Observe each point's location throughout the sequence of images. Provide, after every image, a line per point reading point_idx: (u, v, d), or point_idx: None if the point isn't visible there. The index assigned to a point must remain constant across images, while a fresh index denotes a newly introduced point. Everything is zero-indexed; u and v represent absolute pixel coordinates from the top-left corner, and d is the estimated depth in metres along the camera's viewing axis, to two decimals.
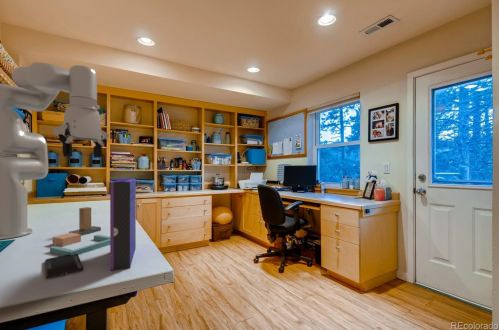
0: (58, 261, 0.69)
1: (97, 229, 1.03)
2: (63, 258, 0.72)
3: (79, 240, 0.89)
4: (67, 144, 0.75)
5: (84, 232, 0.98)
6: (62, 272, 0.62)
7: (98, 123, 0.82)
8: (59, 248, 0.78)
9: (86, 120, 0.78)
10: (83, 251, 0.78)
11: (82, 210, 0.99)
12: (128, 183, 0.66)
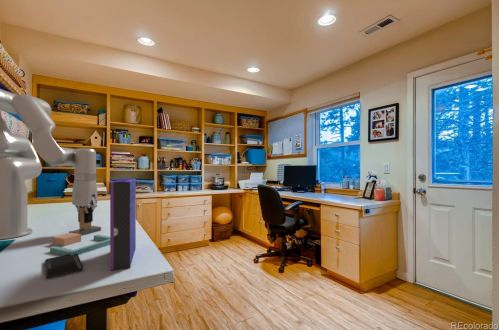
0: (58, 261, 0.69)
1: (97, 229, 1.03)
2: (63, 258, 0.72)
3: (79, 240, 0.89)
4: None
5: (84, 232, 0.98)
6: (62, 272, 0.62)
7: None
8: (59, 248, 0.78)
9: None
10: (83, 251, 0.78)
11: (82, 210, 0.99)
12: (128, 183, 0.66)
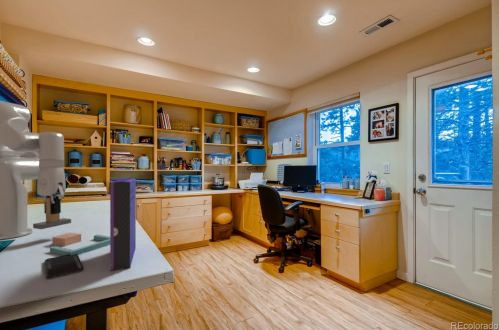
0: (58, 261, 0.69)
1: (66, 221, 0.94)
2: (62, 258, 0.72)
3: (79, 240, 0.90)
4: None
5: (51, 224, 0.89)
6: (62, 272, 0.62)
7: None
8: (59, 248, 0.78)
9: None
10: (83, 251, 0.78)
11: (48, 200, 0.90)
12: (128, 183, 0.66)
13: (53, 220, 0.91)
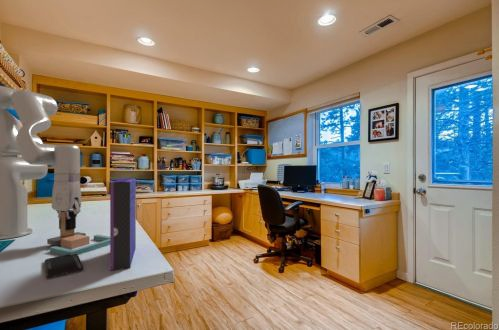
0: (58, 261, 0.69)
1: None
2: (62, 258, 0.72)
3: (87, 242, 0.86)
4: None
5: None
6: (62, 272, 0.63)
7: None
8: (59, 248, 0.78)
9: None
10: (83, 251, 0.78)
11: (63, 214, 0.86)
12: (128, 183, 0.66)
13: (68, 235, 0.87)
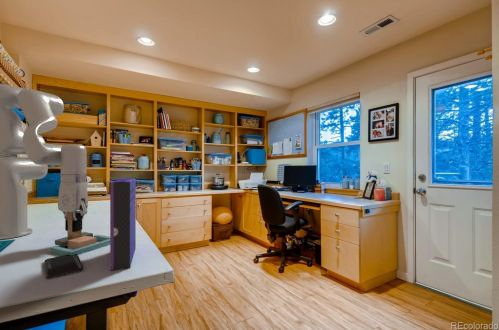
0: (58, 261, 0.69)
1: None
2: (62, 258, 0.72)
3: None
4: None
5: None
6: (62, 272, 0.63)
7: None
8: (59, 248, 0.78)
9: None
10: (83, 251, 0.78)
11: (70, 214, 0.85)
12: (128, 183, 0.66)
13: (75, 236, 0.86)
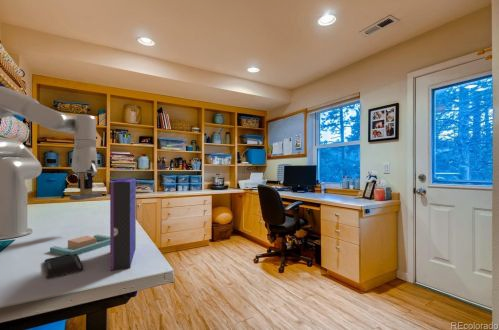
0: (58, 261, 0.69)
1: (98, 194, 1.03)
2: (62, 258, 0.72)
3: None
4: None
5: (85, 196, 0.98)
6: (63, 272, 0.63)
7: None
8: (59, 248, 0.78)
9: None
10: (83, 251, 0.78)
11: (82, 174, 0.99)
12: (128, 183, 0.66)
13: (87, 193, 1.00)
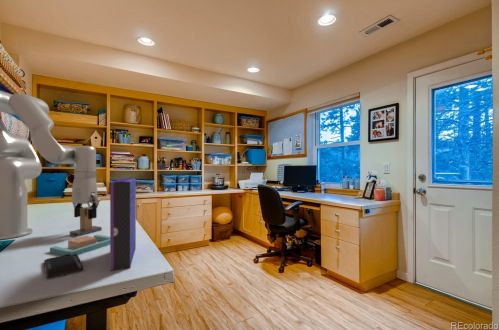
0: (58, 261, 0.69)
1: (98, 229, 1.03)
2: (62, 258, 0.72)
3: None
4: None
5: (85, 232, 0.98)
6: (63, 272, 0.63)
7: None
8: (59, 248, 0.78)
9: None
10: (83, 251, 0.78)
11: (83, 210, 1.00)
12: (128, 183, 0.66)
13: (87, 228, 1.00)
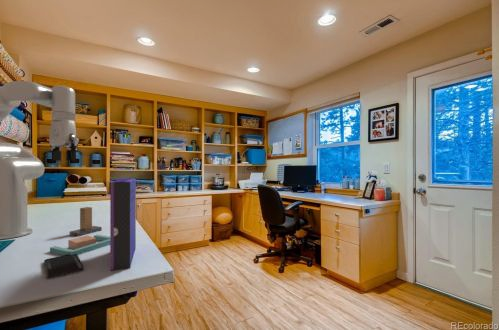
0: (58, 262, 0.69)
1: (98, 229, 1.03)
2: (62, 258, 0.72)
3: None
4: None
5: (85, 232, 0.98)
6: (63, 272, 0.63)
7: None
8: (59, 248, 0.78)
9: None
10: (83, 251, 0.78)
11: (83, 210, 1.00)
12: (128, 183, 0.66)
13: (87, 228, 1.00)
